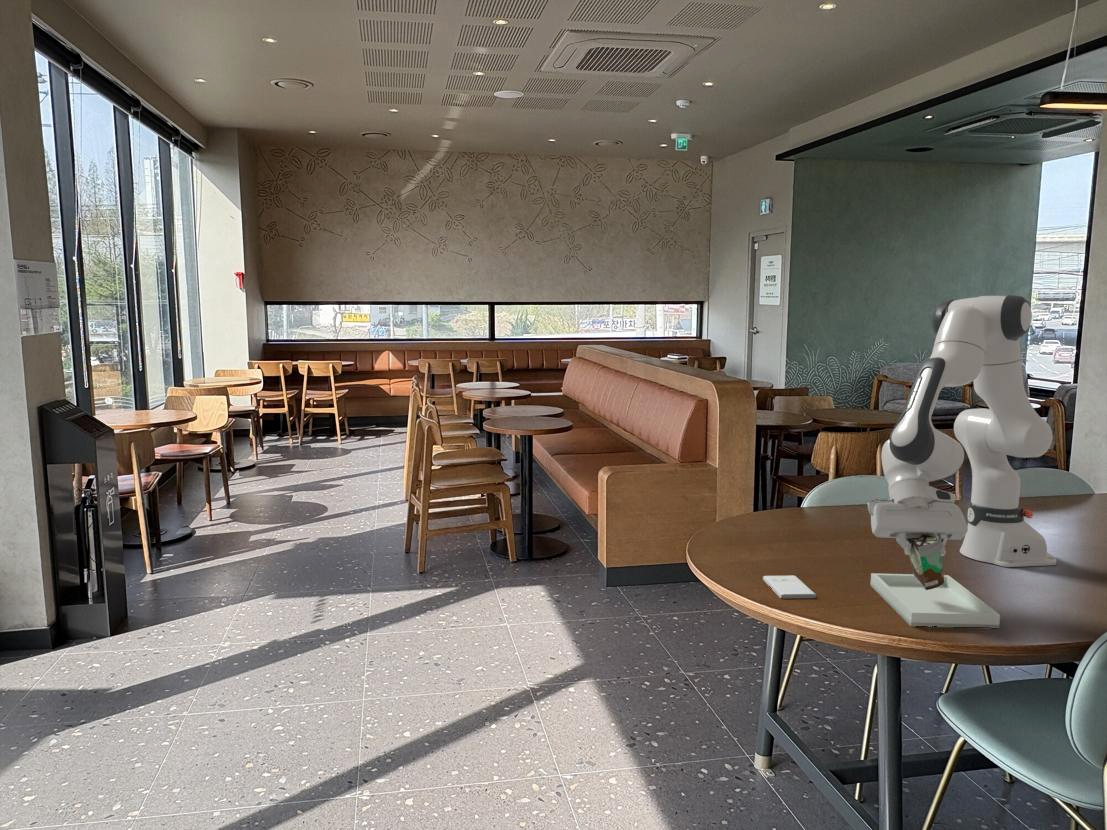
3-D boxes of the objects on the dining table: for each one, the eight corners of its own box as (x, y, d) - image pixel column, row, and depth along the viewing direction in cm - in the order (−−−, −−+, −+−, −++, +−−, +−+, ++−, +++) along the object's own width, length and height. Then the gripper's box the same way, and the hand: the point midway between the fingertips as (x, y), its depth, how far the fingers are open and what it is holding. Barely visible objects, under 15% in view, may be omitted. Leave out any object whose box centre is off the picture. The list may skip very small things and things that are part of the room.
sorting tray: (947, 587, 189) (948, 575, 189) (998, 628, 166) (1000, 614, 165) (870, 585, 190) (871, 573, 190) (910, 626, 166) (911, 612, 166)
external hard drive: (780, 601, 181) (762, 581, 194) (815, 600, 182) (795, 581, 194) (780, 594, 181) (763, 575, 193) (816, 593, 182) (796, 574, 194)
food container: (958, 587, 170) (949, 542, 169) (927, 592, 171) (918, 547, 170) (940, 569, 182) (932, 527, 181) (912, 574, 183) (903, 532, 182)
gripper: (870, 491, 182) (882, 546, 173) (961, 494, 181) (978, 549, 173) (861, 505, 187) (873, 559, 178) (950, 508, 186) (966, 562, 178)
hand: (925, 554), depth 175 cm, fingers closed on food container, 5 cm apart
